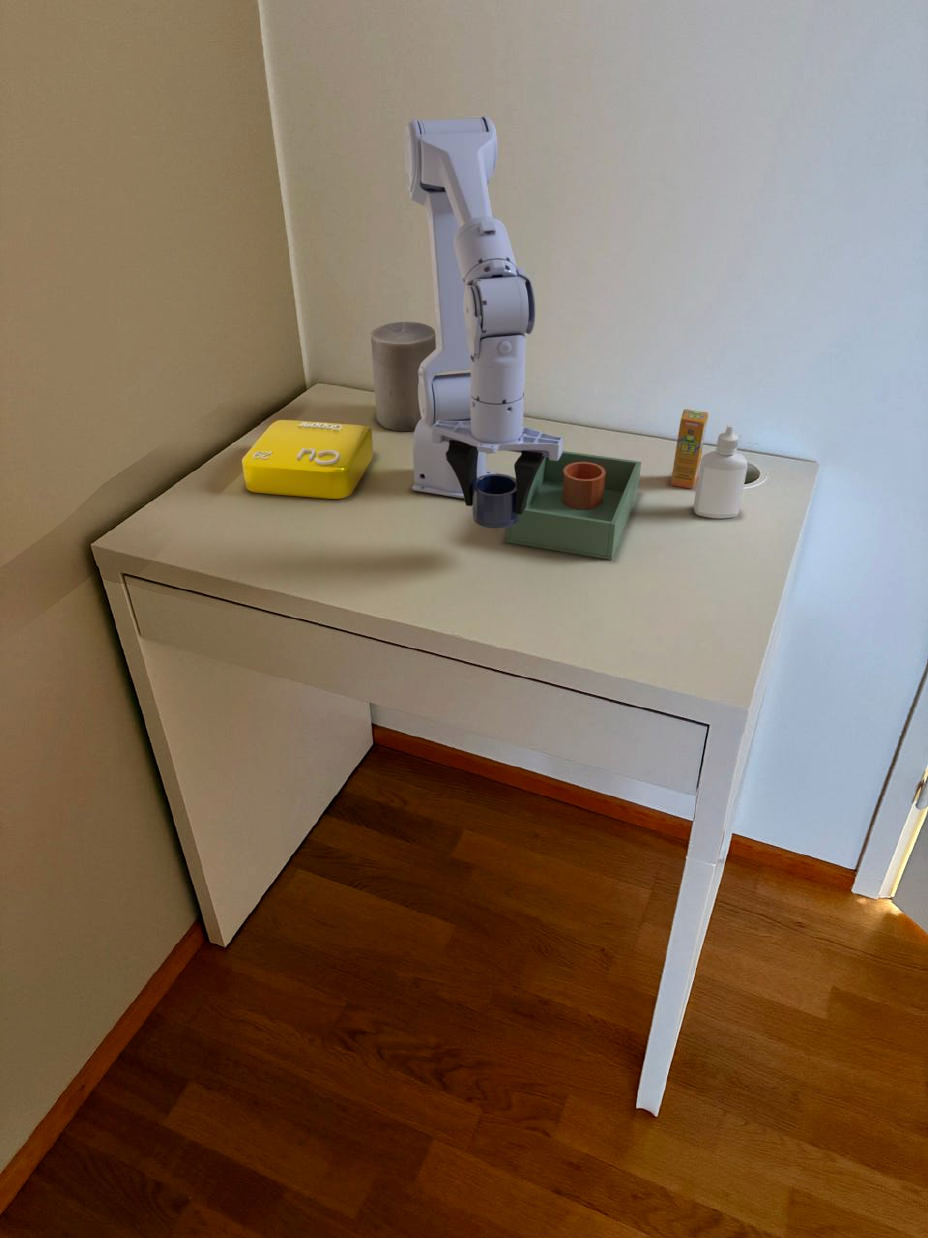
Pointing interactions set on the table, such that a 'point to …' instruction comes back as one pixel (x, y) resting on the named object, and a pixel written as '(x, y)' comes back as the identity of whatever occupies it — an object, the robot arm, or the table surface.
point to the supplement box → (689, 448)
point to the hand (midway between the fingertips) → (495, 505)
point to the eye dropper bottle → (721, 479)
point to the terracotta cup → (583, 485)
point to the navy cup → (494, 501)
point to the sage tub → (576, 528)
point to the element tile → (308, 459)
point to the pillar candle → (399, 371)
